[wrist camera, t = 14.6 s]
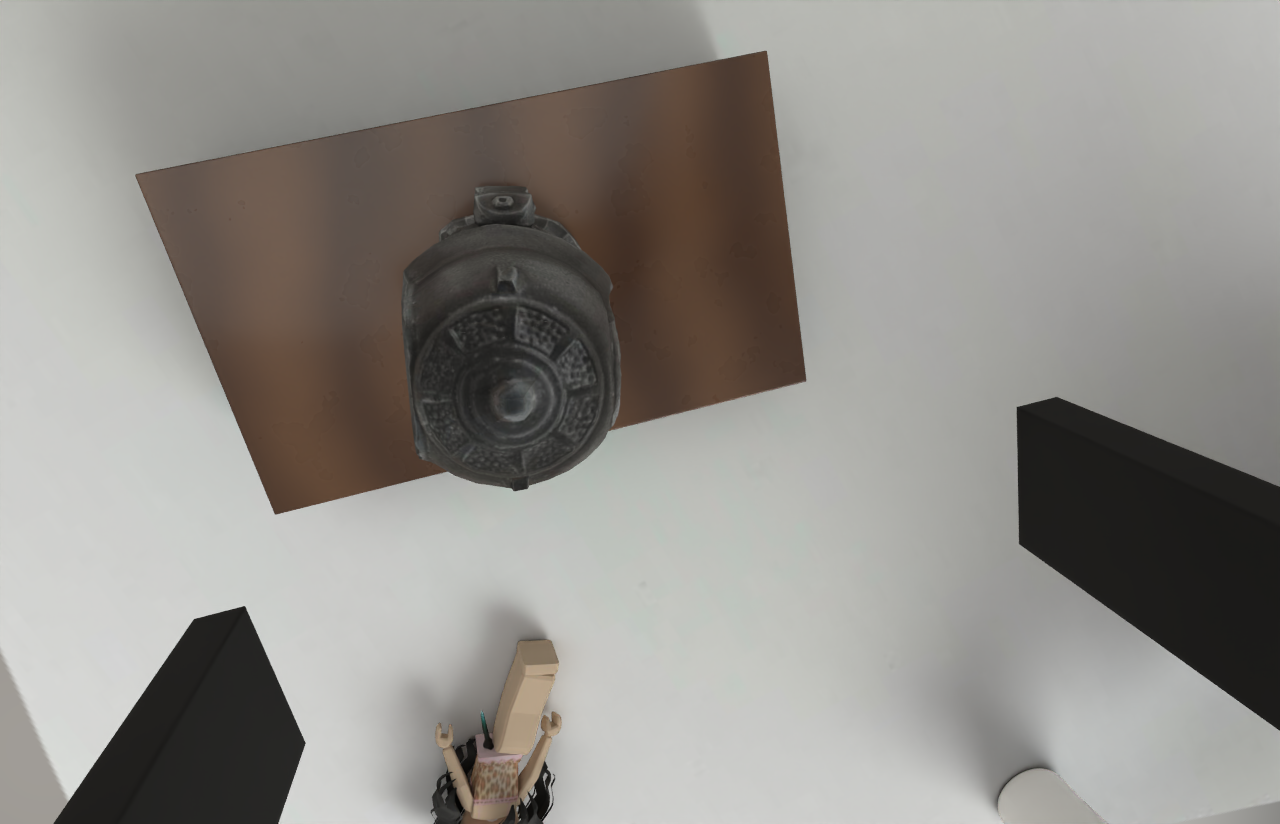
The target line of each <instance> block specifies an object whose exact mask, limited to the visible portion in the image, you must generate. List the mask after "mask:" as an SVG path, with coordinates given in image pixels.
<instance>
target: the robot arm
mask: <svg viewBox="0 0 1280 824" xmlns="http://www.w3.org/2000/svg"><path fill="white" fill-rule="evenodd" d="M1017 447H1018V504H1019V544H1020V545H1021V546H1023V547H1024V548H1026V549H1027V550H1028V551H1030V552H1031V553H1033V554H1034V555H1035V556H1037V557H1038V558H1039V559H1041V560H1042V561H1044V562H1045V563H1046V564H1048V565H1049V566H1051V567H1052V568H1053V569H1055V570H1056V571H1058V572H1059V573H1060V574H1062V575H1063V576H1065V577H1066V578H1067V579H1069V580H1070V581H1072V582H1073V583H1074V584H1076V585H1077V586H1079V587H1080V588H1081V589H1083V590H1084V591H1086V592H1087V593H1088V594H1090V595H1091V596H1093V597H1094V598H1095V599H1097V600H1098V601H1100V602H1101V603H1102V604H1104V605H1105V606H1106V607H1108V608H1109V609H1111V610H1112V611H1113V612H1115V613H1116V614H1118V615H1119V616H1120V617H1122V618H1123V619H1125V620H1126V621H1127V622H1129V623H1130V624H1132V625H1133V626H1134V627H1136V628H1137V629H1139V630H1140V631H1141V632H1143V633H1144V634H1146V635H1147V636H1148V637H1150V638H1151V639H1153V640H1154V641H1155V642H1157V643H1158V644H1160V645H1161V646H1162V647H1164V648H1165V649H1167V650H1168V651H1169V652H1171V653H1172V654H1174V655H1175V656H1176V657H1178V658H1179V659H1180V660H1182V661H1183V662H1185V663H1186V664H1187V665H1189V666H1190V667H1192V668H1193V669H1194V670H1196V671H1197V672H1199V673H1200V674H1201V675H1203V676H1204V677H1206V678H1207V679H1208V680H1210V681H1211V682H1213V683H1214V684H1215V685H1217V686H1218V687H1220V688H1221V689H1222V690H1224V691H1225V692H1227V693H1228V694H1229V695H1231V696H1232V697H1234V698H1235V699H1236V700H1238V701H1239V702H1241V703H1242V704H1243V705H1245V706H1246V707H1247V708H1249V709H1250V710H1252V711H1253V712H1254V713H1256V714H1257V715H1259V716H1260V717H1261V718H1263V719H1264V720H1266V721H1267V722H1268V723H1270V724H1271V725H1273V726H1274V727H1275V728H1277V729H1278V730H1280V487H1279V486H1276V485H1274V484H1271V483H1269V482H1266V481H1264V480H1261V479H1259V478H1256V477H1254V476H1251V475H1249V474H1246V473H1244V472H1241V471H1239V470H1237V469H1234V468H1232V467H1229V466H1227V465H1224V464H1222V463H1219V462H1217V461H1214V460H1212V459H1209V458H1207V457H1204V456H1202V455H1199V454H1197V453H1194V452H1192V451H1189V450H1187V449H1184V448H1182V447H1180V446H1177V445H1175V444H1172V443H1170V442H1167V441H1165V440H1162V439H1160V438H1157V437H1155V436H1152V435H1150V434H1147V433H1145V432H1142V431H1140V430H1137V429H1135V428H1132V427H1130V426H1127V425H1125V424H1122V423H1120V422H1118V421H1115V420H1113V419H1110V418H1108V417H1105V416H1103V415H1100V414H1098V413H1095V412H1093V411H1090V410H1088V409H1085V408H1083V407H1080V406H1078V405H1075V404H1073V403H1070V402H1068V401H1065V400H1063V399H1061V398H1058V397H1055V398H1051V399H1047V400H1043V401H1039V402H1035V403H1031V404H1027V405H1024V406H1020V407H1017ZM305 744H306V743H305V741H304V739H303V736H302V734H301V732H300V730H299V727H298V725H297V723H296V720H295V718H294V716H293V714H292V711H291V709H290V707H289V705H288V702H287V700H286V698H285V696H284V693H283V691H282V689H281V687H280V684H279V682H278V680H277V677H276V675H275V673H274V671H273V668H272V666H271V664H270V662H269V659H268V657H267V655H266V653H265V650H264V648H263V646H262V644H261V641H260V639H259V637H258V634H257V632H256V630H255V628H254V625H253V623H252V621H251V619H250V616H249V614H248V612H247V610H246V607H245V606H243V607H239V608H236V609H232V610H228V611H224V612H220V613H216V614H212V615H208V616H205V617H201V618H197V619H194V620H193V621H192V623H191V624H190V626H189V627H188V629H187V630H186V632H185V633H184V635H183V636H182V637H181V639H180V640H179V642H178V643H177V645H176V646H175V648H174V649H173V651H172V652H171V653H170V655H169V656H168V658H167V659H166V661H165V662H164V664H163V665H162V667H161V668H160V669H159V671H158V672H157V674H156V675H155V677H154V678H153V680H152V681H151V683H150V684H149V685H148V687H147V688H146V690H145V691H144V693H143V694H142V696H141V697H140V699H139V700H138V701H137V703H136V704H135V706H134V707H133V709H132V710H131V712H130V713H129V715H128V716H127V717H126V719H125V720H124V722H123V723H122V725H121V726H120V728H119V729H118V731H117V732H116V733H115V735H114V736H113V738H112V739H111V741H110V742H109V744H108V745H107V747H106V748H105V749H104V751H103V752H102V754H101V755H100V757H99V758H98V760H97V761H96V763H95V764H94V765H93V767H92V768H91V770H90V771H89V773H88V774H87V776H86V777H85V779H84V780H83V781H82V783H81V784H80V786H79V787H78V789H77V790H76V792H75V793H74V795H73V796H72V797H71V799H70V800H69V802H68V803H67V805H66V806H65V808H64V809H63V811H62V812H61V814H60V815H59V816H58V818H57V819H56V821H55V822H54V824H278V822H279V819H280V816H281V814H282V811H283V808H284V805H285V802H286V799H287V796H288V793H289V790H290V787H291V784H292V781H293V779H294V776H295V773H296V770H297V767H298V764H299V761H300V758H301V755H302V752H303V749H304V746H305Z"/></svg>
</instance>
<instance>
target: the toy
mask: <svg viewBox="0 0 1280 824" xmlns="http://www.w3.org/2000/svg"><path fill="white" fill-rule="evenodd" d="M535 210H536V206H535V204H534V202H533V200H532V195H531V194H530V193H528V190H527V188H526V187H521V186H483V187H475V195H474V209H473V214H474V215H470V216H466V217H462V218H457V219H454V220H452V221H451V222H450V223H449V224H447V225H446V226H445V227H444V228H442V229H441V230H440V232H439V242H438V243H436V244H434V245H433V246H431V247H430V248H429V249H427V250H426V251H425V252H423V253H422V254H421V255H419V256H418V257H417V258H415V259H414V260H413V261H412V262H411V263H410V264H409V265H408V267H407V268H406V269H405V270H404V271H403V288H402V299H401V307H402V332H403V342H404V353H405V365H406V374H407V384H408V393H409V403H410V412H411V421H412V429H413V437H414V443H415V449H416V453H417V455H418V456H419V459H422V460H425V461H429V462H432V463H434V464H436V465H438V466H439V467H441V468H443V469H445V470H446V471H448V472H450V473H452V474H453V475H455V476H458V477H461V478H463V479H466V480H469V481H472V482H475V483H479V484H486V485H493V486H500V487H506V488H512V489H513V491H518V490H523V489H528V487H529V485H532V484H536V483H539V482H542V481H545V480H548V479H551V478H553V477H555V476H557V475H560V474H562V473H564V472H566V471H568V470H570V469H572V468H573V467H574V466H576V465H577V464H579V463H580V462H582V461H583V460H584V459H586V458H587V457H588V456H589V455H590V454H591V453H592V452H593V451H594V450H595V449H596V448H597V447H598V446H599V445H600V444H601V442H602V441H603V440H604V438H605V437H606V434H607V432H608V431H609V430H610V429H611V427H612V426H613V425H614V423H615V420H616V418H617V416H618V413H619V408H620V389H621V368H620V361H621V353H620V344H619V339H618V332H617V329H616V327H615V317H614V314H613V312H612V309H611V306H610V302H609V294H610V292H611V290H612V288H613V285H612V282H611V280H610V277H609V276H608V274H607V273H606V272H605V271H604V269H603V268H602V267H601V266H600V265H599V264H598V263H597V262H595V261H594V260H593V259H592V258H591V257H590V256H589V255H588V254H587V253H585V252H584V251H582V250H581V248H580V246H579V244H578V242H577V241H576V240H575V238H574V237H573V236H572V234H571V233H570V232H569V231H568V230H567V229H566V228H565V227H564V226H563V225H562V224H561V223H560V222H558V221H555V220H552V219H549V218H546V217H543V216H539V215H536V214H534V213H535Z"/></svg>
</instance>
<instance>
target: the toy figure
mask: <svg viewBox="0 0 1280 824" xmlns="http://www.w3.org/2000/svg"><path fill="white" fill-rule="evenodd" d="M558 665H559V661H558V658H557V655H556V653H555V650H554V647H553V644H552V642H551V641H550V640H535V641H519V642H518V645H517V653H516V656H515V659H514V661H513V664H512V667H511V669H510V672H509V675H508V677H507V680H506V683H505V686H504V691H503V692H502V696H501V699H500V703H499V707H498V711H497V715H496V719H495V723H494V728H493V733H489V732H488V729H487V725H486V722H485V717H484V713H483V712H482V710H481V720H482V728H483V733H484V734H477V735H475V737H476V746H477V753H476V750H475V748H474V745H473V743H474V741H475V739H469V740H468V742H467V743H466V745H467V752H468V757H467V758H466V759H465V760H464V761H463V763H462V764H460V763H461V761H462V760H463V758H464V755H463V751H462V747H463V746H466V745H463V744H462V745H460V746H458V747H457V748H456V750H455V749H454V746H452V745H451V743H452V742H453V728H452V725H451V724H449V729H448V734H443V733H441V729H442V726H441V723H439V724H438V725H437V726H436V732H435V738H436V743H437V745H438V746H439V747H441V748H444V749H443V755H444V758H445V761H446V764H447V768H448V769H447V772H446V774H444V775H442V776H441V777H440V778H439V779H438V781H437V790H436V791H435V793H434V794H433V796H432V799H433V806H434V809H432V810H431V814H432V812H433V811H435V813H436V815H437V819H436V820H435V822H436V821H437V822H436V824H543V822H542V821H543V820H544V818H545V817H546V816H547V814H548V813H549V811H550V810H551V808H552V806H553V803H552V805H551V807H550V809H549V810H548V807H549V803H550V795H549V790H548V786H549V783H550V781H551V774H550V772H549V771H548V770H547V768H548V767H547V765H546V762H545V758H546V755H547V753H548V750H549V747H550V744H551V741H552V738H551V736H555V735H556V734H558V733H559V731H560V729H561V724H562V720H561V717H560V715H558V714H557V713H555V712H552V722H550V720H549V718H548V717H547V716H545V715H544V716H543V718H542V721H541V728H542V730H543V731H544V732H545V733H544V735H542V736H541V738H540V740H539V742H538V744H537V746H536V748H535V750H534V752H533V754H532V756H531V758H530V760H529V761H528V763H527V765H526V767H525V768H524V769H523V771H522V772H521V773H520V775H519V776H518V762H520V760H521V758H522V756H523V755H527V754H528V753H529V752H530V751H531V749H532V747H533V745H534V741H535V737H536V733H537V729H538V725H539V721H540V717H541V714H542V711H543V709H544V706H545V704H546V701H547V699H548V696H549V694H550V691H551V689H552V686H553V684H554V681H555V675H554V674H556V672H557V671H558ZM473 765H474V767H473ZM472 767H473V768H472ZM471 768H472V772H471V780H470V783H469V781H468V775H467V773H468V772H469V771H470V769H471ZM448 771H449V773H448ZM545 772H546V773H547V774H548V776H547V778H546V780H545V785H546V789H545V785H544V781H543V775H544V773H545ZM553 775H554V774H553ZM554 776H555V775H554ZM444 777H446V784H444V785H443V786H442V787H441V788H440V786H441V780H442V779H443V778H444ZM554 781H555V778H554V780H553V782H552V784H551V789H552V785H553V783H554ZM533 785H534V786H535V789H534V793H533V795H532V796H531V795H530V793H529V791H530V790H531V788H532V787H533ZM446 789H447V792H448V796H447V797H446V799H445V801H446V803H444V800H443V798H442V794H443V793H444V791H445V790H446ZM535 790H536V793H537V795H536V796H535V798H534V799H533V796H534V794H535ZM527 794H528V795H529V797H530V800H529V802H530V801H531V803H530V805H529V806H528V804H529V802H528V803H527V805H526V807H527V806H528V807H527V809H526V807H525V805H524V803H523V800H524V799H525V797H526V796H527ZM552 795H553V792H552ZM553 799H554V798H553ZM517 806H518V807H519V809H518V813H517V811H516V808H517ZM463 808H464V810H463ZM462 810H463V812H462ZM547 810H548V812H547ZM464 811H465V812H464ZM461 812H462V814H463V813H464V814H463V816H462V814H461ZM546 812H547V813H546ZM545 813H546V814H545ZM518 814H519V817H518ZM544 815H545V816H544ZM432 816H433V815H432ZM543 816H544V817H543ZM460 817H461V818H460ZM520 818H521V820H520V821H519V819H520ZM434 819H435V818H434ZM457 819H458V820H457ZM541 819H542V820H541ZM456 821H457V822H456ZM435 822H434V824H435Z"/></svg>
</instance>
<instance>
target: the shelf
mask: <svg viewBox="0 0 1280 824" xmlns="http://www.w3.org/2000/svg"><path fill="white" fill-rule="evenodd" d="M135 176H136V179H137V181H138V183H139V186H140V188H141V191H142V193H143V195H144V198H145V200H146V203H147V205H148V208H149V210H150V212H151V215H152V217H153V220H154V222H155V225H156V227H157V229H158V232H159V234H160V237H161V239H162V242H163V244H164V246H165V249H166V251H167V254H168V256H169V259H170V261H171V263H172V266H173V268H174V271H175V273H176V275H177V278H178V280H179V283H180V285H181V288H182V290H183V292H184V295H185V297H186V300H187V302H188V305H189V307H190V309H191V312H192V314H193V317H194V319H195V322H196V324H197V326H198V329H199V331H200V334H201V336H202V339H203V341H204V343H205V346H206V348H207V351H208V353H209V355H210V358H211V360H212V363H213V365H214V368H215V370H216V372H217V375H218V377H219V380H220V382H221V385H222V387H223V389H224V392H225V394H226V397H227V399H228V402H229V404H230V406H231V409H232V411H233V414H234V416H235V419H236V421H237V423H238V426H239V428H240V431H241V433H242V436H243V438H244V440H245V443H246V445H247V448H248V450H249V452H250V455H251V457H252V460H253V462H254V465H255V467H256V469H257V472H258V474H259V477H260V479H261V482H262V484H263V486H264V489H265V491H266V494H267V496H268V499H269V501H270V503H271V506H272V508H273V511H274V513H275V514H280V513H284V512H288V511H292V510H296V509H300V508H304V507H308V506H312V505H316V504H320V503H324V502H328V501H332V500H336V499H340V498H344V497H348V496H352V495H356V494H360V493H363V492H367V491H371V490H375V489H379V488H383V487H387V486H391V485H395V484H399V483H403V482H407V481H411V480H415V479H419V478H423V477H427V476H431V475H435V474H439V473H443V472H447V471H446V470H445V469H443V468H441V467H439V466H438V465H436V464H434V463H432V462H429V461H425V460H422V459H419V456H418V455H417V453H416V449H415V443H414V437H413V429H412V421H411V412H410V403H409V393H408V384H407V374H406V365H405V353H404V342H403V332H402V307H401V299H402V288H403V271H404V270H405V269H406V268H407V267H408V265H409V264H410V263H411V262H412V261H413V260H414V259H415V258H417V257H418V256H419V255H421V254H422V253H423V252H425V251H426V250H427V249H429V248H430V247H431V246H433V245H434V244H436V243H438V242H439V232H440V230H441V229H442V228H444V227H445V226H446V225H447V224H449V223H450V222H451V221H452V220H454V219H457V218H462V217H466V216H470V215H474V214H473V209H474V195H475V187H483V186H521V187H526V188H527V190H528V193H530V194H531V195H532V200H533V202H534V204H535V206H536V210H535V213H534V214H536V215H539V216H543V217H546V218H549V219H552V220H555V221H558V222H560V223H561V224H562V225H563V226H564V227H565V228H566V229H567V230H568V231H569V232H570V233H571V234H572V236H573V237H574V238H575V240H576V241H577V242H578V244H579V246H580V248H581V250H582V251H584V252H585V253H587V254H588V255H589V256H590V257H591V258H592V259H593V260H594V261H595V262H597V263H598V264H599V265H600V266H601V267H602V268H603V269H604V271H605V272H606V273H607V274H608V276H609V277H610V280H611V282H612V285H613V288H612V290H611V292H610V294H609V302H610V306H611V309H612V312H613V314H614V317H615V327H616V329H617V332H618V339H619V344H620V353H621V361H620V368H621V389H620V408H619V413H618V416H617V418H616V420H615V423H614V425H613V426H612V427H611V429H610V430H609V431H611V430H615V429H619V428H623V427H626V426H630V425H634V424H638V423H642V422H646V421H650V420H654V419H658V418H662V417H666V416H670V415H674V414H678V413H682V412H686V411H690V410H694V409H698V408H702V407H706V406H710V405H714V404H718V403H722V402H726V401H730V400H734V399H738V398H742V397H746V396H750V395H754V394H758V393H762V392H766V391H770V390H774V389H778V388H782V387H786V386H790V385H794V384H798V383H802V382H806V374H805V365H804V357H803V349H802V340H801V332H800V323H799V315H798V307H797V298H796V290H795V282H794V273H793V265H792V256H791V248H790V240H789V231H788V223H787V215H786V206H785V198H784V189H783V181H782V173H781V164H780V156H779V148H778V139H777V131H776V122H775V114H774V106H773V97H772V89H771V81H770V72H769V64H768V56H767V51H762V52H757V53H752V54H747V55H741V56H736V57H731V58H726V59H721V60H716V61H711V62H706V63H701V64H696V65H690V66H685V67H680V68H675V69H670V70H665V71H660V72H655V73H650V74H644V75H639V76H634V77H629V78H624V79H619V80H614V81H609V82H604V83H599V84H593V85H588V86H583V87H578V88H573V89H568V90H563V91H558V92H553V93H548V94H542V95H537V96H532V97H527V98H522V99H517V100H512V101H507V102H502V103H497V104H491V105H486V106H481V107H476V108H471V109H466V110H461V111H456V112H451V113H445V114H440V115H435V116H430V117H425V118H420V119H415V120H410V121H405V122H400V123H394V124H389V125H384V126H379V127H374V128H369V129H364V130H359V131H354V132H349V133H343V134H338V135H333V136H328V137H323V138H318V139H313V140H308V141H303V142H298V143H292V144H287V145H282V146H277V147H272V148H267V149H262V150H257V151H252V152H246V153H241V154H236V155H231V156H226V157H221V158H216V159H211V160H206V161H201V162H195V163H190V164H185V165H180V166H175V167H170V168H165V169H160V170H155V171H150V172H144V173H139V174H136V175H135Z"/></svg>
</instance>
